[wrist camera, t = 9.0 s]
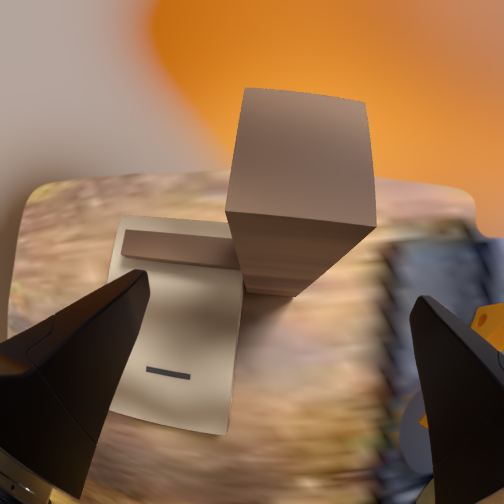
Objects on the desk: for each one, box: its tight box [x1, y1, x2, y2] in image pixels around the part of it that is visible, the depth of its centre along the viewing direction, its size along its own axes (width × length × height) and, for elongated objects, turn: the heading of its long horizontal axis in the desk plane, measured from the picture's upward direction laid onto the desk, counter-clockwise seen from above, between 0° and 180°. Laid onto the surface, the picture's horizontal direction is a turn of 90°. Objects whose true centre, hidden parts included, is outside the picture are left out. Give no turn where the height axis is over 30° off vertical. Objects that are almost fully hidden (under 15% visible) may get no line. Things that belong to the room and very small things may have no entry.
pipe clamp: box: [419, 303, 504, 429], centre depth 17 cm, size 12×4×6 cm, turn 145°
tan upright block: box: [121, 88, 377, 297], centre depth 15 cm, size 4×12×16 cm, turn 84°
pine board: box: [107, 215, 244, 436], centre depth 21 cm, size 15×10×3 cm, turn 174°
